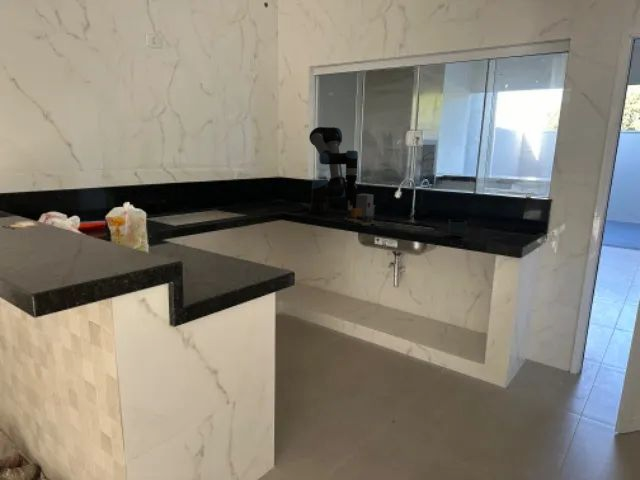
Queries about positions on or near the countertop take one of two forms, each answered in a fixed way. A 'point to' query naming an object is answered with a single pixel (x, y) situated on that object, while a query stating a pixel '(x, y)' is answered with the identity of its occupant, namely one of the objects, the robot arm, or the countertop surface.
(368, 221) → the cord board
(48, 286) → the countertop surface
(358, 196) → the supplement box
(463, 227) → the flower pot
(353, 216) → the sleeve
